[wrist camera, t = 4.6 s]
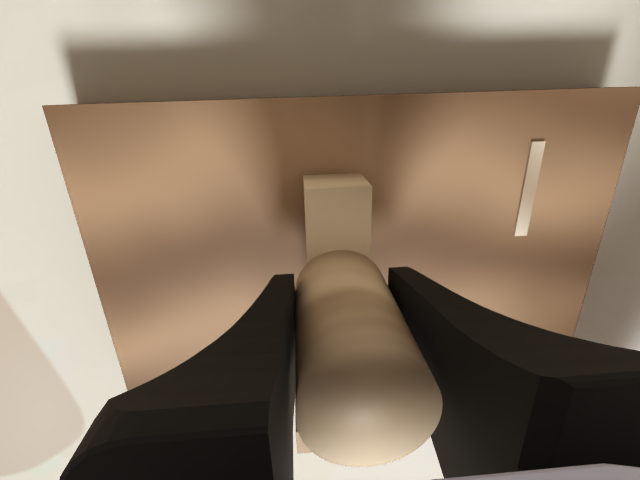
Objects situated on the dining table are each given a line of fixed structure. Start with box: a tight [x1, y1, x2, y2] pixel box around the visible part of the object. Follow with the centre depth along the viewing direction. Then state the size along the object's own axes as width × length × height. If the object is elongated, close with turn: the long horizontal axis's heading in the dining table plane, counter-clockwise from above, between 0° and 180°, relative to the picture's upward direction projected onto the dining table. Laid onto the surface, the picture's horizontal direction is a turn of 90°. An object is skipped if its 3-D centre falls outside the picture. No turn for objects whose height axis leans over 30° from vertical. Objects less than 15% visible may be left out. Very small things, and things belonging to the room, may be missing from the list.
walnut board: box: [42, 87, 640, 391], centre depth 15 cm, size 12×20×2 cm, turn 92°
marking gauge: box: [295, 173, 443, 467], centre depth 12 cm, size 11×4×9 cm, turn 2°
